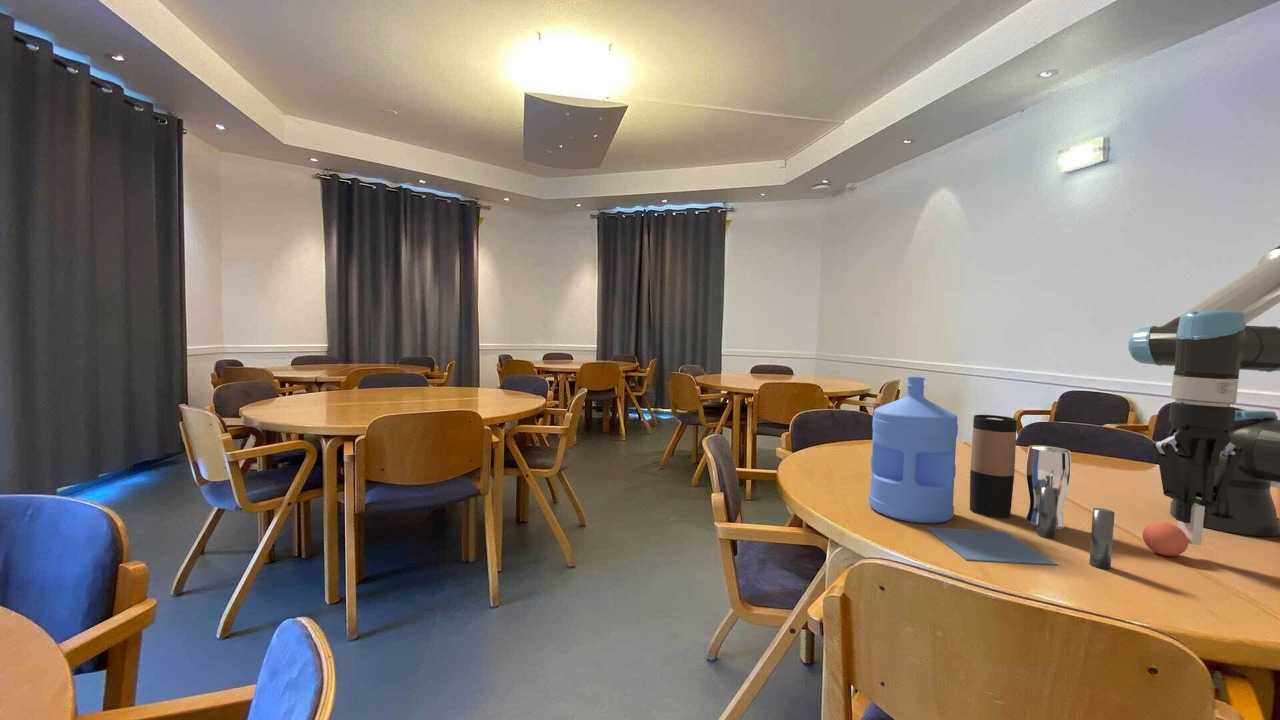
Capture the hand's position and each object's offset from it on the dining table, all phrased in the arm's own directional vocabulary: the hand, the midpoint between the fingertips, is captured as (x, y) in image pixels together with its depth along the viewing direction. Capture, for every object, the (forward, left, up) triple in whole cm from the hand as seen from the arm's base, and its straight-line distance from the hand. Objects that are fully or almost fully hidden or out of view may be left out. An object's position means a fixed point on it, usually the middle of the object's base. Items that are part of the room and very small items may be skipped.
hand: (1188, 541), depth 90 cm
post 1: (+18, -7, -3) cm, 20 cm away
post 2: (+18, +6, -3) cm, 20 cm away
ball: (+3, 0, 0) cm, 4 cm away
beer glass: (+14, -13, -3) cm, 20 cm away
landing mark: (+32, 0, -3) cm, 32 cm away
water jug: (+38, -17, -3) cm, 42 cm away
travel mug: (+21, -19, -3) cm, 29 cm away
